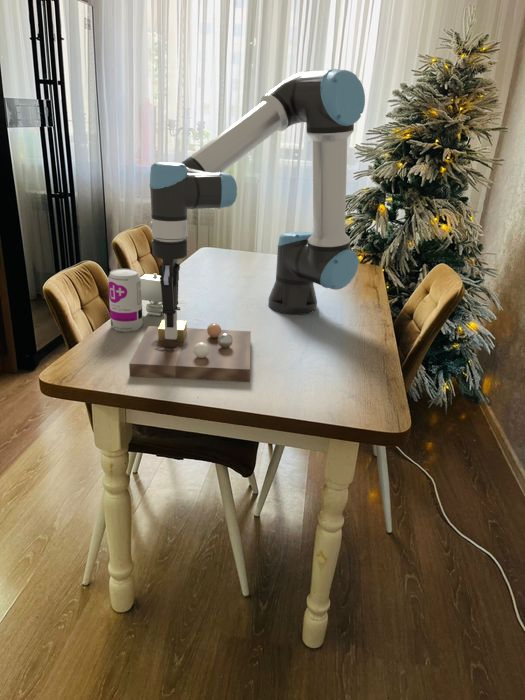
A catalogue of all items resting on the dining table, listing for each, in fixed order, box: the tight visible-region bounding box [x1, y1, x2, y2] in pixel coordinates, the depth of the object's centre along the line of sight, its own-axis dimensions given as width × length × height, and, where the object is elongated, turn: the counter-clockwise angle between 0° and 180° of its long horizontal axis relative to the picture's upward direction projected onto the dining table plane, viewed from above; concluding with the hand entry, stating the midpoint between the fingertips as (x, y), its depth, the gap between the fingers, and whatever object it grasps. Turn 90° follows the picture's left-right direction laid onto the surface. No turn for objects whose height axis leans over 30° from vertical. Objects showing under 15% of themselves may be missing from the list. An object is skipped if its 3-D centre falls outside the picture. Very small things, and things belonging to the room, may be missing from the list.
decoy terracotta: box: [206, 323, 222, 338], centre depth 124 cm, size 4×4×4 cm
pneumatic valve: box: [140, 273, 163, 318], centre depth 143 cm, size 6×12×12 cm, turn 78°
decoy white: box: [194, 342, 209, 358], centre depth 113 cm, size 4×4×4 cm
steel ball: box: [218, 333, 233, 348], centre depth 119 cm, size 4×4×4 cm
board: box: [128, 325, 252, 383], centre depth 120 cm, size 26×22×3 cm
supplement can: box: [107, 268, 144, 333], centre depth 132 cm, size 8×8×15 cm
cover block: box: [158, 319, 188, 342], centre depth 123 cm, size 6×6×3 cm
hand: (171, 337), depth 120 cm, fingers closed
